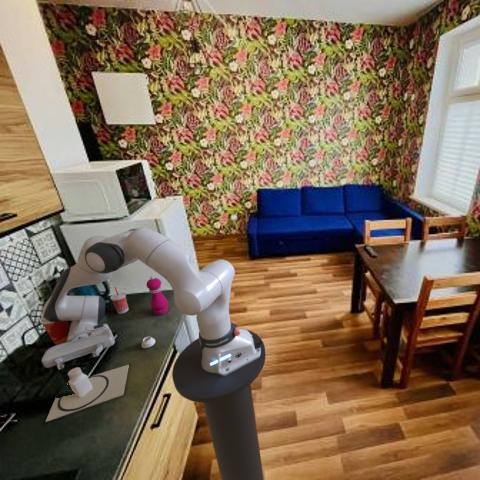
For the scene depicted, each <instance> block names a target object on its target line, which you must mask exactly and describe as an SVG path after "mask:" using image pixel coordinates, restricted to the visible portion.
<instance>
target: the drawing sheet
mask: <svg viewBox="0 0 480 480" xmlns="http://www.w3.org/2000/svg"><path fill="white" fill-rule="evenodd" d="M129 367H130V364H126V365H123V366H119V367H116V368H113V369H110V370H106V371H103V372H100V373H97V374H93V375H91V376H88V379H89V381H90V383H91V385H92V390H90V391H89V392H88V393H86V394H85V395H84V396H82V397H79V396H77V395H75V394H72V395H68V396H63V397H60V398H56V397H55V399H54V401H53V403H52V406H51V408H50V410H49V411H48V412H49V413H48V414H47V417H46V419H45V423H47V422H51V421H53V420H56V419H59V418H62V417H65V416H68V415H71V414H74V413H77V412H79V411H82V410H85V409H87V408H90V407H93V406H96V405H99V404H102V403H105V402H108V401H110V400H114V399H116V398H119V397H122V396H124V395H125V389H126V385H127V378H128V373H129ZM66 384H67V385H68V383H66Z"/></svg>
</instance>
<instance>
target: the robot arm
mask: <svg viewBox="0 0 480 480" xmlns="http://www.w3.org/2000/svg"><path fill="white" fill-rule="evenodd" d="M137 261H140V262H141V263H143V264H144V265H145V266H147V267H148V268H150V269H151V270H153V271H155V272H156V273H157V274H158V275H160V276H161V277H163V278H164V279H165V280H166V281H167V282H168V283H169V285H170V287H171V288H172V291H173V304H174V306H175V308H176V309H177V310H178V311H179V312H180V313H182V314H184V315H186V316H196V318H195V319H196V323H197V327H198V338H199V341H200V345H201V347H202V361H201V365H202V367H203V369H204V370H206V371H208V372H211V373H217V374H219V375H221V376H226V375H227V374H229V373H231V372H233V371H235V370H237V369H239V368H241V367H242V366H244V365H246V364H248V363H250V362H252V361H254V360H255V359H257V358H259V357H260V354H261V348H260V344H261V343H262V341H263V340H262V341H261V340H260V339H259V338H258V336H259V335H258V334H257V333H255V335H251V334H250V333H249V332H248V331H247V330H248V329H246V328H242V329H240V328H241V327H238V326H237V323H235V322H236V321H235V320H232V322H231V318H230V317H231V316H230V300H231V292H232V286H233V282H234V278H235V276H236V270H235V268H234V266H233V265H232V264H231V263H230V262H229V261H228V260H226V259H216V260H214V261H212V262H209V263H208V264H206V265H205V266H204V267H202V268H201V269H200V270H196V269H195V268H194V267H193V266H192V264H191V263H192V256H191V254H190V252H189V251H187V250H186V249H185V248H183V247H182V246H181V245H179V244H178V243H177V242H174V241H173V240H171V239H170V238H168V237H167V236H165V235H164V234H163V233H162V234H161V233H160V232H158V231H156V230H153V229H151V228H149V227H144V226H143V227H137V228H131V229H129V230H127V231H123V232H120V233H117V234H113V235H111V236H105V235H94V236H91V237H89V238H87V239H86V240H85V241H84V243H83V245H82V247H81V248H80V250H79V254H78V257H77V262H76V263H75V264H74V265H72V266H71V267H67V268H65V269H64V270H63V271H62V273H61V274H60V276H59V277H58V280H57V282H56V284H55V286H54V287H53V290H52V292H51V294H50V296H49V298H48V299H47V301H45V304H44V305H43V308H42V316H43V317H44V318H45V319H46V320H48V321H50V322H59V321H68V322H69V321H71V323H70V324H69V327H70V331H69V334H68V338H67V342H66V343H63V344H60V345H53V346H51V347H49V348H48V349H47V350H45V352H44V354H43V356H42V358H41V363H42V365H43V367H44V368H46V369H49V368H51V367H55V366H56V367H57V369H58V370H59V371H60V370H63V369H65V367H66V364H65V363H66V362H69V361H73V360H75V359H77V358H81V357H83V356H86V355H88V354H91V355H92V356H93V358H97V357H99V356H100V353H101V352H102V351H103V350H105V349H107V348H109V347H112V346H114V345H115V343H116V340H115V337H114V335H113V332H112V330H111V328H110V326H109V325H108V323H101V322H102V321H103V320H104V318H105V314H106V300H105V299H104V298H103V297H102V296H100V295H68V293H69V291H71V290H72V289H75V288H79V287H80V288H81V287H84V286H85V287H86V286H94V285H98V284H101V283H103V282H105V281H107V280H109V279H110V278H111V277H112V276H113V274H114V272H116V271H118V270H119V269H121V268H123V267H126V266H128V265H130V264H133V263H135V262H137ZM257 335H258V336H257Z"/></svg>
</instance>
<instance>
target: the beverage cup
mask: <svg viewBox="0 0 480 480" xmlns="http://www.w3.org/2000/svg"><path fill="white" fill-rule="evenodd" d="M114 290H115V293H114V294H112V295H111V296H110V298H109V299H110V300H111V301H112V304H113V306H114V308H115V310H116V313H117V314H118V315H121V314H125V313H127V312H128V311H129V310H130V308H129V304H128V300H127V294H126V292H123V291H122V292H121V291H119V292H118V290H117V286H114Z"/></svg>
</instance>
